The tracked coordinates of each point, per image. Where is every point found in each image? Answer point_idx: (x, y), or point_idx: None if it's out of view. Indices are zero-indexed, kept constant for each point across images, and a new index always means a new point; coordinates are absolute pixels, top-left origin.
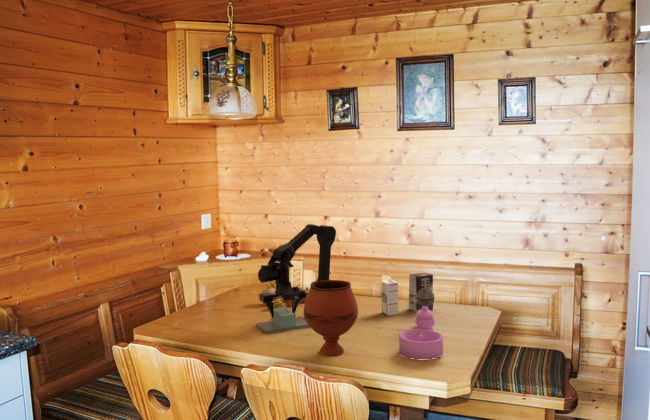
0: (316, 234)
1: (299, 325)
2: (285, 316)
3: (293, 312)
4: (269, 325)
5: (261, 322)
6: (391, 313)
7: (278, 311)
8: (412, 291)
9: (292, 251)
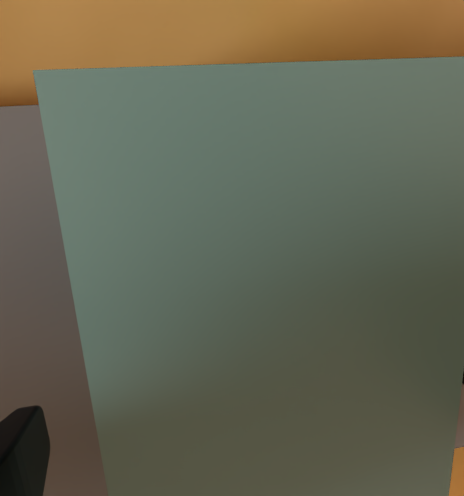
0: None
1: (17, 118)
2: (386, 65)
3: (24, 438)
4: None
5: (455, 443)
6: None
7: (382, 493)
8: None
9: None
